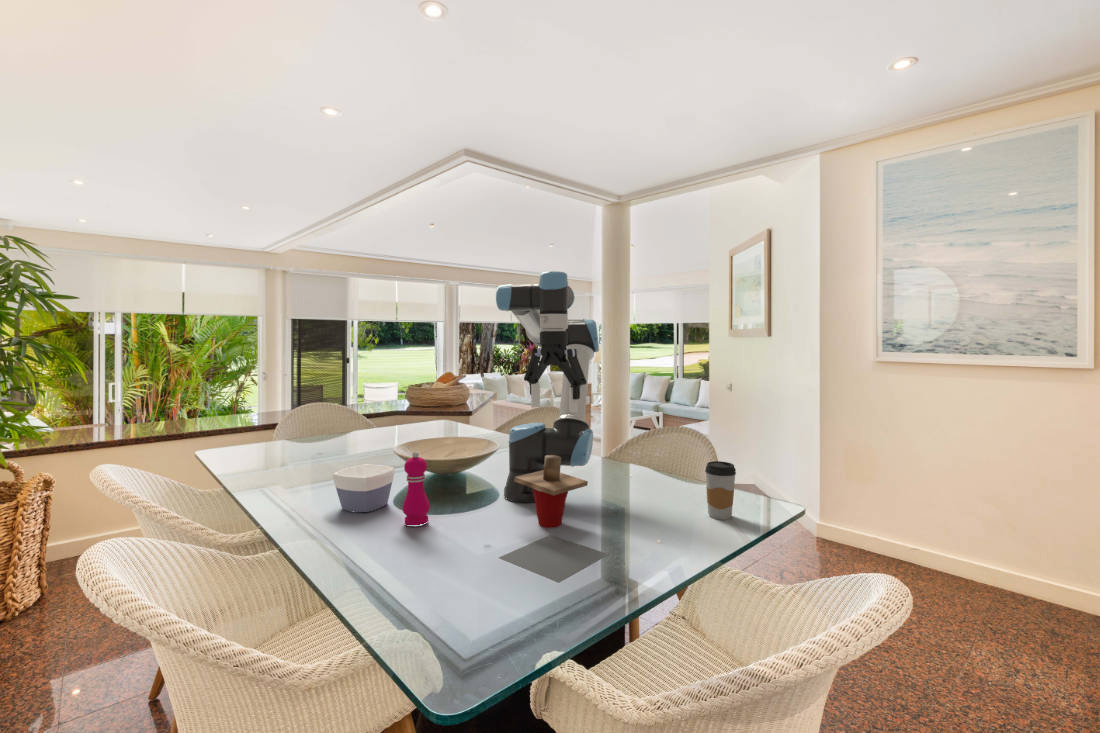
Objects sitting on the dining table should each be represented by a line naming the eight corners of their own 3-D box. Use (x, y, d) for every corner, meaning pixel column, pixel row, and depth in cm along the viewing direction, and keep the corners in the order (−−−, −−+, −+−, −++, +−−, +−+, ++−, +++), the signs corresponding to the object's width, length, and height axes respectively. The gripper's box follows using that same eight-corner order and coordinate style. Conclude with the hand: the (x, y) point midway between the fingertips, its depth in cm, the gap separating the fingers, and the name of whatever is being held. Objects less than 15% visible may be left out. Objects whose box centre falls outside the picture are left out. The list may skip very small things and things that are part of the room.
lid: (514, 481, 135) (516, 454, 135) (548, 473, 146) (550, 448, 145) (553, 495, 126) (555, 467, 126) (587, 485, 137) (589, 459, 136)
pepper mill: (435, 521, 142) (434, 450, 140) (418, 529, 135) (417, 455, 134) (414, 517, 145) (413, 447, 143) (397, 525, 138) (395, 453, 137)
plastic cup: (567, 536, 130) (567, 490, 130) (526, 533, 132) (526, 488, 132) (573, 521, 141) (573, 479, 140) (535, 518, 143) (535, 477, 142)
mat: (498, 561, 115) (498, 557, 115) (550, 538, 129) (550, 534, 129) (558, 587, 103) (558, 582, 103) (608, 558, 117) (608, 554, 117)
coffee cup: (734, 513, 147) (735, 462, 147) (735, 522, 140) (736, 469, 139) (705, 509, 150) (705, 459, 149) (703, 519, 142) (704, 466, 142)
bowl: (326, 511, 150) (325, 474, 149) (363, 496, 164) (362, 462, 163) (367, 518, 144) (366, 479, 143) (402, 502, 158) (401, 467, 158)
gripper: (511, 330, 141) (511, 406, 142) (581, 329, 124) (581, 415, 126) (529, 330, 146) (530, 403, 148) (599, 330, 130) (599, 412, 131)
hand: (554, 409), depth 137 cm, fingers open, 13 cm apart
